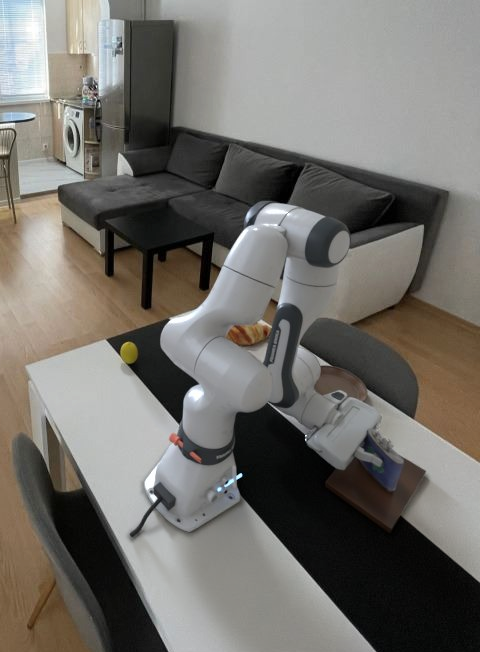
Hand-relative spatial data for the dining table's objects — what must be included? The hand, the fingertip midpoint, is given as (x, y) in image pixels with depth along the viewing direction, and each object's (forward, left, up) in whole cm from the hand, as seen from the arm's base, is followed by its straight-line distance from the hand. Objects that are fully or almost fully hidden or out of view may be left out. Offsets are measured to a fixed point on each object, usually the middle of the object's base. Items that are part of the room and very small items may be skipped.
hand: (387, 456), depth 94 cm
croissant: (+22, +49, -9) cm, 54 cm away
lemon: (-16, +66, -9) cm, 68 cm away
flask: (0, +1, -7) cm, 7 cm away
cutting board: (0, +1, -9) cm, 9 cm away
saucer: (+21, +19, -9) cm, 30 cm away
